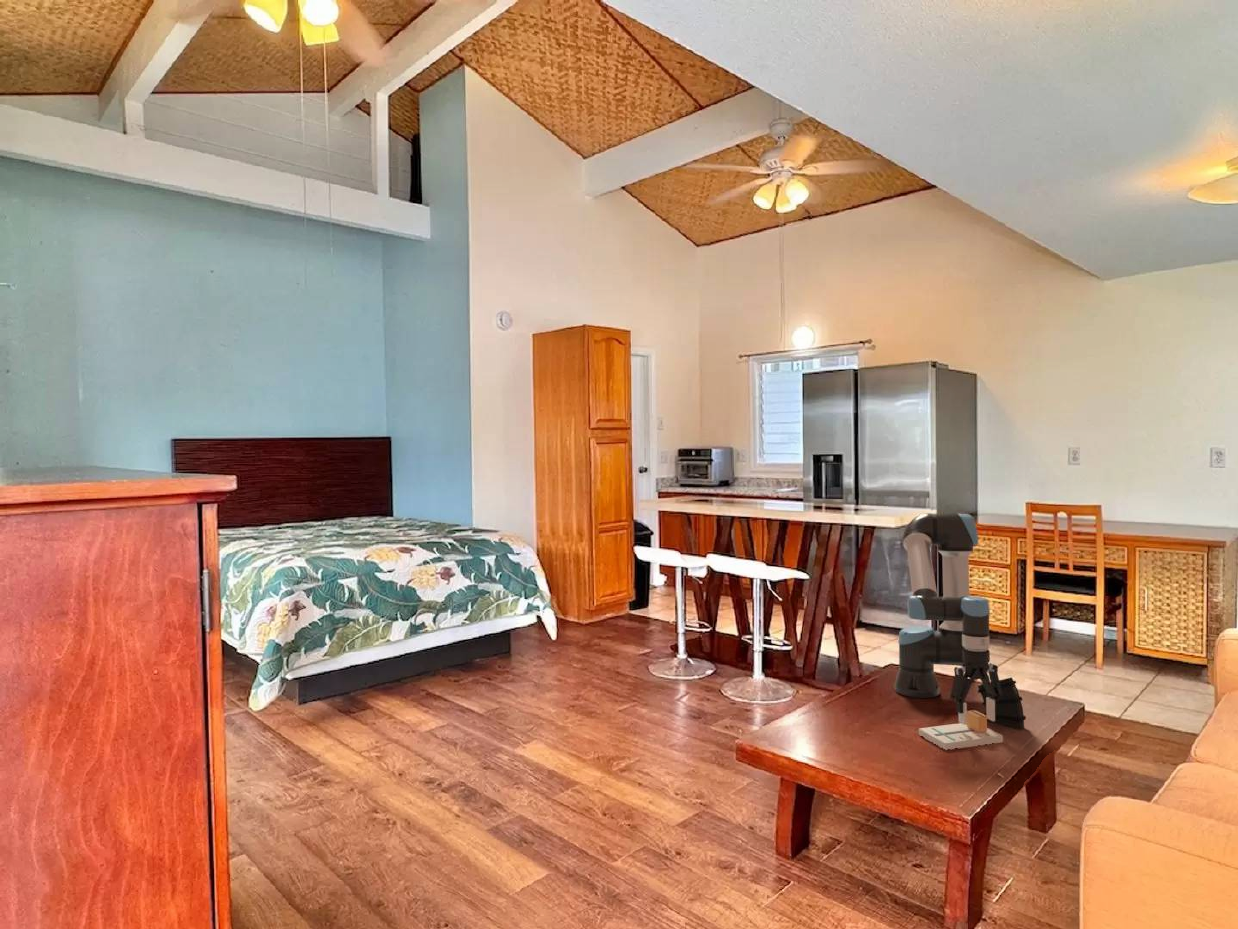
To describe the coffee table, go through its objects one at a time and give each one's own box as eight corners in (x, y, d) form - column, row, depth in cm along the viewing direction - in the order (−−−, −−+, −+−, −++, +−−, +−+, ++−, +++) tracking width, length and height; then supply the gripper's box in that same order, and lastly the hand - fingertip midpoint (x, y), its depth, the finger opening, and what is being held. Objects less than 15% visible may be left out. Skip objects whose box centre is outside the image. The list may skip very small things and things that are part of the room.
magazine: (1030, 728, 223) (1008, 679, 228) (991, 735, 232) (970, 688, 237) (1036, 725, 225) (1013, 676, 230) (997, 732, 235) (976, 685, 240)
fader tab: (966, 726, 223) (966, 710, 223) (975, 725, 224) (974, 709, 224) (978, 733, 218) (978, 716, 218) (987, 731, 219) (987, 715, 219)
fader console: (918, 735, 223) (918, 728, 223) (974, 727, 228) (974, 721, 228) (945, 750, 212) (945, 743, 212) (1002, 742, 216) (1002, 735, 216)
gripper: (953, 654, 215) (954, 730, 215) (1015, 648, 220) (1016, 721, 220) (936, 648, 222) (937, 721, 222) (997, 642, 227) (998, 713, 228)
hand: (976, 721), depth 221 cm, fingers open, 9 cm apart
